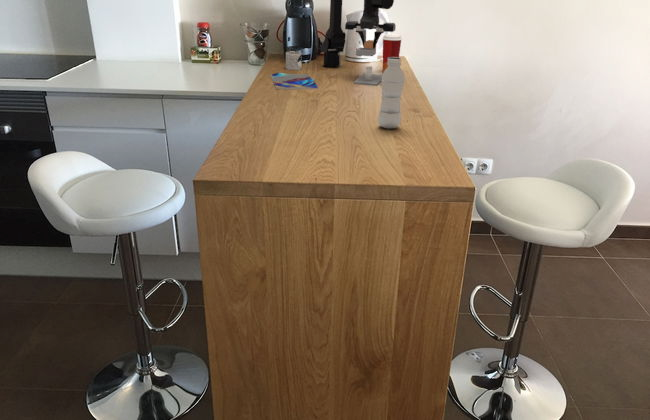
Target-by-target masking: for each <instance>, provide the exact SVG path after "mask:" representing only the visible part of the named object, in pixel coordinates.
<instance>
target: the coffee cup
mask: <svg viewBox="0 0 650 420" xmlns="http://www.w3.org/2000/svg"><path fill="white" fill-rule="evenodd" d="M381 40H382V73H383V72H384V71H385V69H386V68H387V67H388V65H387V61H388V57H398V58H400V52H401V44H402V40H403V39H402V35H401V34H395V33H394V34H392V33H391V34H390V33H387V34H383V36H382V38H381Z"/></svg>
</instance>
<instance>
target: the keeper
mask: <svg viewBox="0 0 650 420" xmlns="http://www.w3.org/2000/svg"><path fill="white" fill-rule="evenodd" d="M364 72H365V73H364ZM364 72H363V73H362V74H361V75H360V76H359V77H358V78H357V79H356V80H354V81H353V84H357V85H366V86H376V87H377V86H378V85H379V84H380V83H382V80H381V77H382V74H377V73H373V66H365V71H364Z"/></svg>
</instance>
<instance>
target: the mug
mask: <svg viewBox="0 0 650 420" xmlns="http://www.w3.org/2000/svg"><path fill="white" fill-rule="evenodd" d="M301 60H302V53H301V52H295V51H290V50H289V51H286V52H285V70H288V71H300V70H302V61H301Z"/></svg>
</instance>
